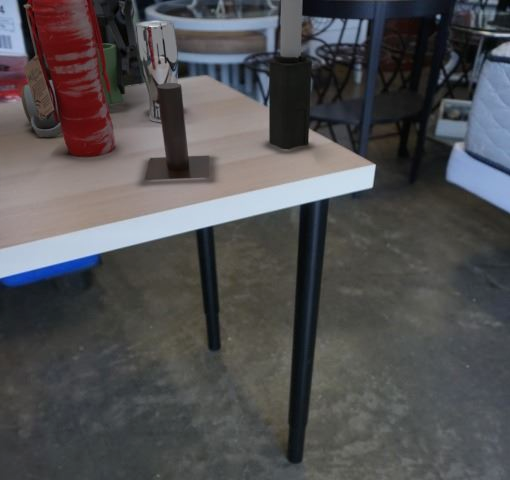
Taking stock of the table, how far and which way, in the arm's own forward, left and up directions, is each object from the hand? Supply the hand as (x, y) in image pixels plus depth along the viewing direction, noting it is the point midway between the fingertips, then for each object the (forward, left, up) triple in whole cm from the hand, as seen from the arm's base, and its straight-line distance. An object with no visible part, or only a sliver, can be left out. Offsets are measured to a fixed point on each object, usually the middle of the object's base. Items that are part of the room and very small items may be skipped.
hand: (101, 90), depth 101 cm
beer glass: (+12, -4, -4) cm, 14 cm away
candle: (+33, -26, -4) cm, 43 cm away
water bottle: (0, -26, -4) cm, 26 cm away
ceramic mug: (-8, -9, -4) cm, 12 cm away
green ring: (0, +4, -2) cm, 4 cm away
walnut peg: (+16, -35, -4) cm, 39 cm away
